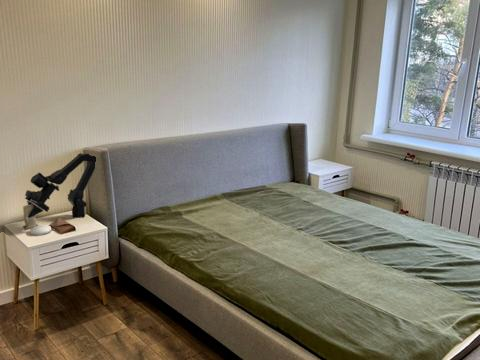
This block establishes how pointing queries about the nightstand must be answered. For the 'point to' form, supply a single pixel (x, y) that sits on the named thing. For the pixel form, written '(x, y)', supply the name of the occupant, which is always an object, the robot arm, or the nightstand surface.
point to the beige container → (28, 221)
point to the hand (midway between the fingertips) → (27, 216)
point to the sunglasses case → (62, 226)
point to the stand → (40, 230)
